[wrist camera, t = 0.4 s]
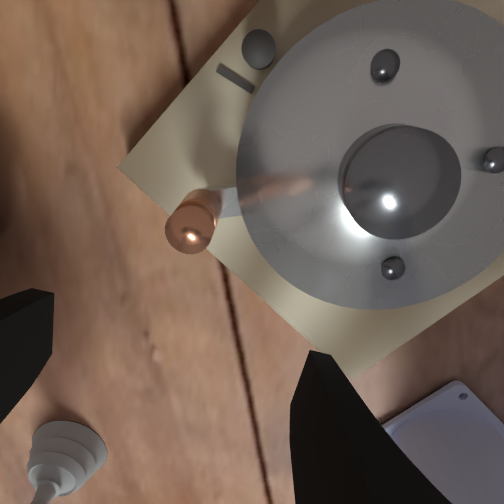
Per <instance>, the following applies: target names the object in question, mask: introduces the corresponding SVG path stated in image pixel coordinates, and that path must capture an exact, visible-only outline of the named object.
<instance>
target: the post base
mask: <svg viewBox="0 0 504 504" xmlns="http://www.w3.org/2000/svg"><path fill="white" fill-rule="evenodd" d="M374 1H378V0H259V2H258V3H257V4H256V5H255V6H254V7H253V9H252V10H251V11H250V12H249V13H248V14H247V16H246V17H245V18H244V19H243V20H242V21H241V23H240V24H239V25H238V26H237V27H236V28H235V30H234V31H233V32H232V33H231V34H230V35H229V37H228V38H227V39H226V40H225V41H224V42H223V44H222V45H221V46H220V47H219V48H218V50H217V51H216V52H215V53H214V54H213V55H212V57H211V58H210V59H209V60H208V61H207V62H206V64H205V65H204V66H203V67H202V68H201V69H200V71H199V72H198V73H197V74H196V75H195V76H194V78H193V79H192V80H191V81H190V82H189V83H188V85H187V86H186V87H185V88H184V89H183V90H182V92H181V93H180V94H179V95H178V96H177V98H176V99H175V100H174V101H173V102H172V103H171V105H170V106H169V107H168V108H167V109H166V110H165V112H164V113H163V114H162V115H161V116H160V117H159V119H158V120H157V121H156V122H155V123H154V124H153V126H152V127H151V128H150V129H149V130H148V131H147V133H146V134H145V135H144V136H143V137H142V138H141V140H140V141H139V142H138V143H137V144H136V146H135V147H134V148H133V149H132V150H131V151H130V153H129V154H128V155H127V156H126V157H125V158H124V160H123V161H122V162H121V163H120V164H119V165H118V167H117V168H118V169H119V170H120V171H121V172H122V173H123V174H125V175H126V176H127V177H128V178H129V179H130V180H131V181H132V182H133V183H134V184H136V185H137V186H138V187H139V188H140V189H141V190H142V191H143V192H144V193H146V194H147V195H148V196H149V197H150V198H151V199H152V200H153V201H154V202H155V203H157V204H158V205H159V206H160V207H161V208H162V209H163V210H164V211H165V212H167V213H168V214H169V215H170V216H171V215H172V213H173V212H174V211H175V209H176V208H177V207H178V206H179V204H180V203H181V202H182V200H183V199H184V198H185V196H186V195H187V194H188V193H189V192H191V191H192V190H195V189H202V188H203V187H207V186H213V185H219V184H225V183H231V182H236V160H237V152H238V145H239V140H240V136H241V132H242V129H243V125H244V121H245V119H246V116H247V114H248V112H249V109H250V107H251V104H252V102H253V100H254V98H255V96H256V94H257V93H258V91H259V89H260V87H261V86H262V84H263V82H264V80H265V79H266V78H267V76H268V75H269V74H270V72H271V71H272V70H273V68H274V67H275V66H276V64H277V63H278V62H279V61H280V60H281V59H282V58H283V56H284V55H285V54H286V53H287V52H288V51H289V50H290V49H291V48H292V47H293V46H294V45H295V44H296V43H297V42H299V41H300V40H301V39H302V38H304V37H305V36H306V35H307V34H309V33H310V32H311V31H312V30H314V29H315V28H317V27H318V26H320V25H322V24H323V23H325V22H326V21H328V20H330V19H331V18H333V17H335V16H337V15H339V14H341V13H343V12H346V11H348V10H350V9H353V8H355V7H357V6H360V5H363V4H367V3H371V2H374ZM454 1H457V2H459V3H462V4H465V5H468V6H471V7H474V8H476V9H478V10H480V11H482V12H483V13H485V14H487V15H489V16H491V17H492V18H494V19H496V20H497V21H498V22H500V23H501V24H502V25H503V26H504V0H454ZM206 249H207V250H209V251H210V252H211V253H212V254H213V255H214V256H215V257H216V258H217V259H218V260H220V261H221V262H222V263H223V264H224V265H225V266H226V267H227V268H228V269H230V270H231V271H232V272H233V273H234V274H235V275H236V276H237V277H238V278H239V279H241V280H242V281H243V282H244V283H245V284H246V285H247V286H248V287H249V288H251V289H252V290H253V291H254V292H255V293H256V294H257V295H258V296H259V297H260V298H262V299H263V300H264V301H265V302H266V303H267V304H268V305H269V306H270V307H272V308H273V309H274V310H275V311H276V312H277V313H278V314H279V315H280V316H282V317H283V318H284V319H285V320H286V321H287V322H288V323H289V324H290V325H291V326H293V327H294V328H295V329H296V330H297V331H298V332H299V333H300V334H301V335H303V336H304V337H305V338H306V339H307V340H308V341H309V342H310V343H311V344H312V345H314V346H315V347H316V348H317V349H318V350H319V351H320V352H321V353H326V354H330V355H331V356H332V357H333V358H334V360H335V361H336V363H337V364H338V365H339V367H340V368H341V370H342V371H343V373H345V374H346V375H347V376H348V377H349V378H350V379H351V380H352V379H354V378H355V377H357V376H358V375H360V374H361V373H363V372H364V371H365V370H367V369H368V368H370V367H371V366H373V365H374V364H376V363H377V362H379V361H380V360H381V359H383V358H384V357H386V356H387V355H389V354H390V353H392V352H393V351H395V350H396V349H397V348H399V347H400V346H402V345H403V344H405V343H406V342H408V341H409V340H411V339H412V338H413V337H415V336H416V335H418V334H419V333H421V332H422V331H424V330H425V329H426V328H428V327H429V326H431V325H432V324H434V323H435V322H437V321H438V320H440V319H441V318H442V317H444V316H445V315H447V314H448V313H450V312H451V311H453V310H454V309H456V308H457V307H458V306H460V305H461V304H463V303H464V302H466V301H467V300H469V299H470V298H472V297H473V296H474V295H476V294H477V293H479V292H480V291H482V290H483V289H485V288H486V287H488V286H489V285H490V284H492V283H493V282H495V281H496V280H498V279H499V278H501V277H502V276H504V252H503V253H502V254H501V255H500V256H499V257H498V258H497V259H496V260H495V261H494V262H493V263H491V264H490V265H489V266H488V267H487V268H486V269H484V270H483V271H482V272H481V273H479V274H478V275H476V276H475V277H473V278H472V279H471V280H469V281H468V282H466V283H465V284H463V285H461V286H459V287H457V288H455V289H454V290H452V291H450V292H448V293H446V294H443V295H441V296H439V297H436V298H434V299H431V300H428V301H425V302H422V303H418V304H415V305H411V306H405V307H400V308H394V309H381V310H368V309H355V308H348V307H342V306H338V305H335V304H331V303H327V302H324V301H322V300H320V299H317V298H315V297H312V296H310V295H308V294H306V293H305V292H303V291H301V290H299V289H298V288H296V287H294V286H293V285H292V284H290V283H289V282H288V281H286V280H285V279H284V278H282V277H281V276H280V275H279V274H278V273H277V272H276V271H275V270H274V269H273V268H272V267H271V266H270V265H269V264H268V262H267V261H266V260H265V259H264V257H263V256H262V255H261V253H260V252H259V251H258V249H257V247H256V246H255V244H254V242H253V240H252V239H251V237H250V235H249V233H248V230H247V228H246V225H245V223H244V220H243V217H242V215H240V216H234V217H227V218H221V219H219V220H218V223H217V226H216V228H215V231H214V234H213V236H212V239H211V241H210V243H209V245H208V246H207V247H206Z"/></svg>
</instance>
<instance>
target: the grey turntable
mask: <svg viewBox="0 0 504 504" xmlns="http://www.w3.org/2000/svg"><path fill="white" fill-rule="evenodd" d="M240 215H242V217H243V220H244V223H245V225H246V228H247V230H248V233H249V235H250V237H251V239H252V240H253V242H254V244H255V246H256V247H257V249H258V251H259V252H260V253H261V255H262V256H263V257H264V259H265V260H266V261H267V262H268V264H269V265H270V266H271V267H272V268H273V269H274V270H275V271H276V272H277V273H278V274H279V275H280V276H281V277H282V278H284V279H285V280H286V281H288V282H289V283H290V284H292V285H293V286H294V287H296V288H298V289H299V290H301V291H303V292H305V293H306V294H308V295H310V296H312V297H315V298H317V299H320V300H322V301H324V302H327V303H331V304H335V305H338V306H342V307H348V308H355V309H368V310H381V309H394V308H400V307H405V306H411V305H415V304H418V303H422V302H425V301H428V300H431V299H434V298H436V297H439V296H441V295H443V294H446V293H448V292H450V291H452V290H454V289H455V288H457V287H459V286H461V285H463V284H465V283H466V282H468V281H469V280H471V279H472V278H473V277H475V276H476V275H478V274H479V273H481V272H482V271H483V270H484V269H486V268H487V267H488V266H489V265H490V264H491V263H493V262H494V261H495V260H496V259H497V258H498V257H499V256H500V255H501V254H502V253H503V252H504V26H503V25H502V24H501V23H500V22H498V21H497V20H496V19H494V18H492V17H491V16H489V15H487V14H485V13H483V12H482V11H480V10H478V9H476V8H474V7H471V6H468V5H465V4H462V3H459V2H457V1H454V0H378V1H374V2H371V3H367V4H363V5H360V6H357V7H355V8H353V9H350V10H348V11H346V12H343V13H341V14H339V15H337V16H335V17H333V18H331V19H330V20H328V21H326V22H325V23H323V24H322V25H320V26H318V27H317V28H315V29H314V30H312V31H311V32H310V33H309V34H307V35H306V36H305V37H304V38H302V39H301V40H300V41H299V42H297V43H296V44H295V45H294V46H293V47H292V48H291V49H290V50H289V51H288V52H287V53H286V54H285V55H284V56H283V58H282V59H281V60H280V61H279V62H278V63H277V64H276V66H275V67H274V68H273V70H272V71H271V72H270V74H269V75H268V76H267V78H266V79H265V80H264V82H263V84H262V86H261V87H260V89H259V91H258V93H257V94H256V96H255V98H254V100H253V102H252V104H251V107H250V109H249V112H248V114H247V116H246V119H245V121H244V125H243V129H242V132H241V136H240V140H239V145H238V152H237V160H236V182H231V183H225V184H219V185H213V186H207V187H203V188H202V189H195V190H192V191H191V192H189V193H188V194H187V195H186V196H185V198H184V199H183V200H182V202H181V203H180V204H179V206H178V207H177V208H176V209H175V211H174V212H173V213H172V215H171V216H170V217H169V219H168V220H167V222H166V226H165V234H166V237H167V240H168V242H169V243H170V244H171V246H172V247H174V248H175V249H176V250H178V251H180V252H182V253H186V254H195V253H198V252H201V251H203V250H204V249H205V248H206V247H207V246H208V245H209V243H210V241H211V239H212V236H213V234H214V231H215V228H216V226H217V223H218V220H219V219H221V218H227V217H234V216H240Z"/></svg>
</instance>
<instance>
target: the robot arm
mask: <svg viewBox="0 0 504 504" xmlns="http://www.w3.org/2000/svg"><path fill="white" fill-rule="evenodd" d="M53 313H54V293H51V292H46V291H42V290H37V289H33V288H31V289H28V290H25V291H22V292H19V293H16V294H13V295H10V296H8V297H5V298H2V299H0V423H1V422H2V421H3V420H4V419H5V418H6V416H7V415H8V414H9V413H10V412H11V410H12V409H13V408H14V407H15V405H16V404H17V403H18V402H19V401H20V399H21V398H22V397H23V396H24V394H25V393H26V392H27V391H28V390H29V388H30V387H31V386H32V384H33V383H34V381H35V380H36V378H37V377H38V375H39V374H40V372H41V371H42V369H43V367H44V366H45V364H46V362H47V361H48V359H49V358H50V356H51V354H52V341H53ZM462 393H464V394H462ZM460 394H462V395H460ZM290 451H291V462H292V472H293V483H294V493H295V503H296V504H504V424H503V423H502V422H501V421H500V420H499V419H498V418H497V417H496V416H495V415H494V414H493V413H492V412H491V411H490V409H489V408H488V407H487V406H486V405H485V404H484V403H483V402H482V401H481V400H480V399H479V398H478V397H477V396H476V395H475V394H474V393H473V392H472V391H471V390H470V389H469V388H468V387H467V386H466V385H465V384H464V383H463V382H461V381H458V380H457V381H452V382H450V383H449V384H447V385H445V386H444V387H442V388H441V389H439V390H437V391H436V392H434V393H433V394H431V395H429V396H428V397H426V398H425V399H423V400H421V401H420V402H418V403H417V404H415V405H413V406H412V407H410V408H409V409H407V410H405V411H404V412H402V413H401V414H399V415H397V416H396V417H394V418H393V419H391V420H389V421H388V422H386V423H385V424H383V425H381V424H380V423H379V422H378V420H377V419H376V418H375V417H374V415H373V414H372V413H371V411H370V410H369V409H368V407H367V406H366V404H365V403H364V402H363V400H362V399H361V397H360V396H359V395H358V393H357V392H356V390H355V389H354V387H353V386H352V385H351V383H350V382H349V380H348V379H347V377H346V376H345V374H344V373H343V371H342V370H341V368H340V367H339V365H338V364H337V363H336V361H335V360H334V358H333V357H332V356H331V355H330V354H326V353H321V352H317V351H312V350H310V351H309V354H308V357H307V359H306V362H305V365H304V368H303V371H302V373H301V376H300V379H299V382H298V385H297V388H296V390H295V393H294V396H293V399H292V402H291V404H290Z"/></svg>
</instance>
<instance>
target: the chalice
mask: <svg viewBox="0 0 504 504" xmlns="http://www.w3.org/2000/svg"><path fill="white" fill-rule="evenodd" d="M106 457H107V450H106V447H105V443H104V442H103V441H102V439H101V438H100V437H99V435H97V434H96V433H95V432H93V431H92V430H91V429H90V428H88V427H85V426H83V425H81V424H79V423H75V422H70V421H52V422H49V423H46V424H43V425H42V426H41V427H39V428H38V429H37V430H36V431H35V433H34V435H33V437H32V448H31V450H30V460H29V462H28V463H27V473H28V479H29V481H30V483H31V484H32V485H33V486H34V488H35V491H36V493H35V496H34V499H33V501H32V502H31V504H48V503H49V502H50V501H51V500H52V498H55V497H57V496H65V495H69V494H71V493H72V492H74V491H76V490H78V489H79V488H81V487H82V486H83V484H84V483H85V481H87V480H88V479H90V478H91V477H92V475H93V474H94V472H95V471H97V470H98V469H100V468H101V467H102V466H103V464H104V463H105V461H106Z"/></svg>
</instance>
